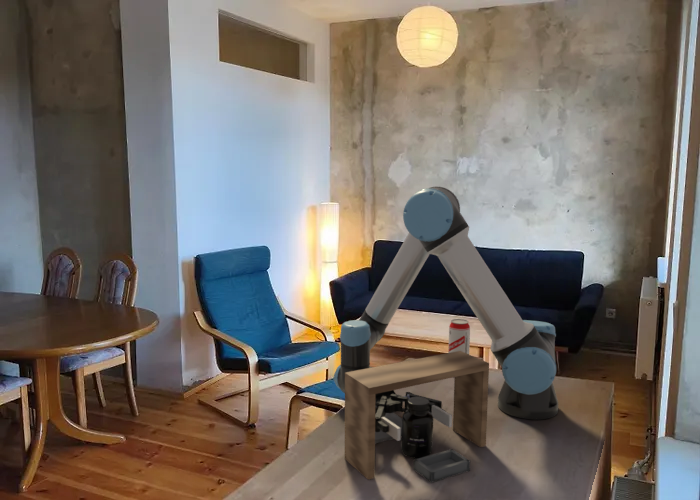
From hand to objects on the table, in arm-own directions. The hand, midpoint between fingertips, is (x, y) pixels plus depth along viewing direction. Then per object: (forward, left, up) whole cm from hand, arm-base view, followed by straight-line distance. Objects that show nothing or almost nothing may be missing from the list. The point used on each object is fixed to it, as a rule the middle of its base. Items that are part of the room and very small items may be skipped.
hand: (425, 427), depth 135 cm
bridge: (+2, -3, -7) cm, 8 cm away
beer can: (-15, -54, -7) cm, 56 cm away
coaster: (+9, -15, -7) cm, 18 cm away
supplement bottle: (+2, -3, -7) cm, 8 cm away
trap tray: (-3, +5, -7) cm, 9 cm away
